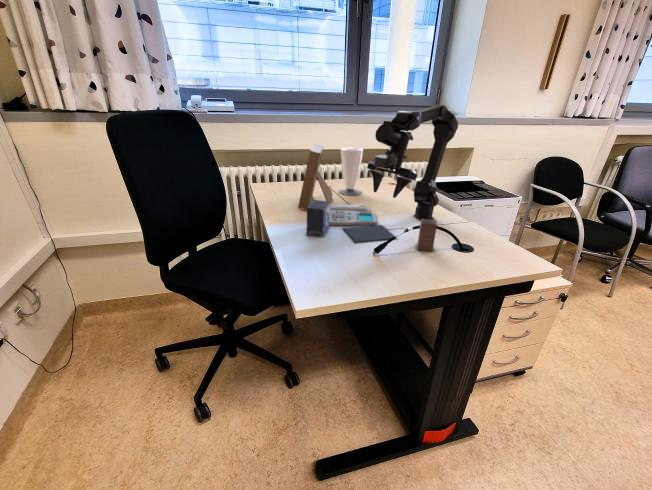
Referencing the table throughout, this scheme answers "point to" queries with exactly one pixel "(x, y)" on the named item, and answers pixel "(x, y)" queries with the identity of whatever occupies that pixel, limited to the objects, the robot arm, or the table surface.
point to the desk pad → (368, 233)
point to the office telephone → (351, 215)
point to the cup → (351, 168)
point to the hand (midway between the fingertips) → (384, 194)
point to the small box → (317, 218)
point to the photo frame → (313, 178)
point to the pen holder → (426, 235)
